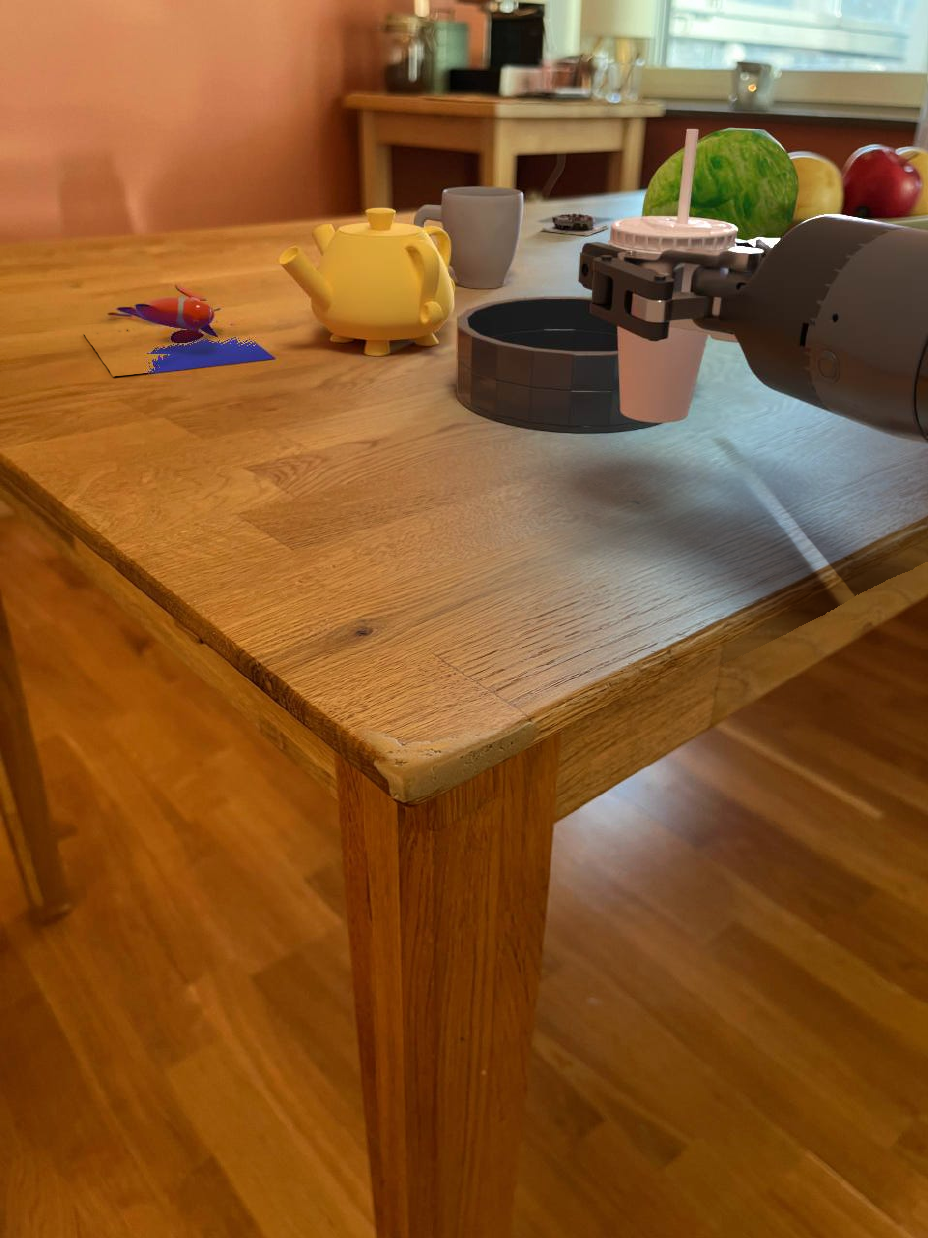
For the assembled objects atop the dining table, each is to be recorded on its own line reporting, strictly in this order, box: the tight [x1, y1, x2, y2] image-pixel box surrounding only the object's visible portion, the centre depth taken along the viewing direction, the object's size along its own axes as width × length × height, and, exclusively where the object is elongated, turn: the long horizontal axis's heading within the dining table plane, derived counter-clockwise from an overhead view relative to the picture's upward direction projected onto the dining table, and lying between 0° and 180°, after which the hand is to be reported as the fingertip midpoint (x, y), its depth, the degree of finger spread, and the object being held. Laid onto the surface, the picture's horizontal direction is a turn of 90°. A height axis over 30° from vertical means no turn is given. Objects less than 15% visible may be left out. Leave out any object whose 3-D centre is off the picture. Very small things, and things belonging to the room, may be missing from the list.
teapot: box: [278, 207, 456, 357], centre depth 86 cm, size 14×14×11 cm
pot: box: [455, 295, 661, 434], centre depth 75 cm, size 18×18×6 cm
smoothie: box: [607, 128, 738, 424], centre depth 51 cm, size 6×6×14 cm
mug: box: [413, 185, 524, 290], centre depth 109 cm, size 12×9×10 cm
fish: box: [107, 284, 221, 344], centre depth 85 cm, size 13×5×9 cm
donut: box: [540, 213, 610, 237], centre depth 144 cm, size 8×8×2 cm
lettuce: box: [641, 127, 800, 241], centre depth 118 cm, size 17×20×17 cm
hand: (642, 258), depth 52 cm, fingers closed on smoothie, 6 cm apart
